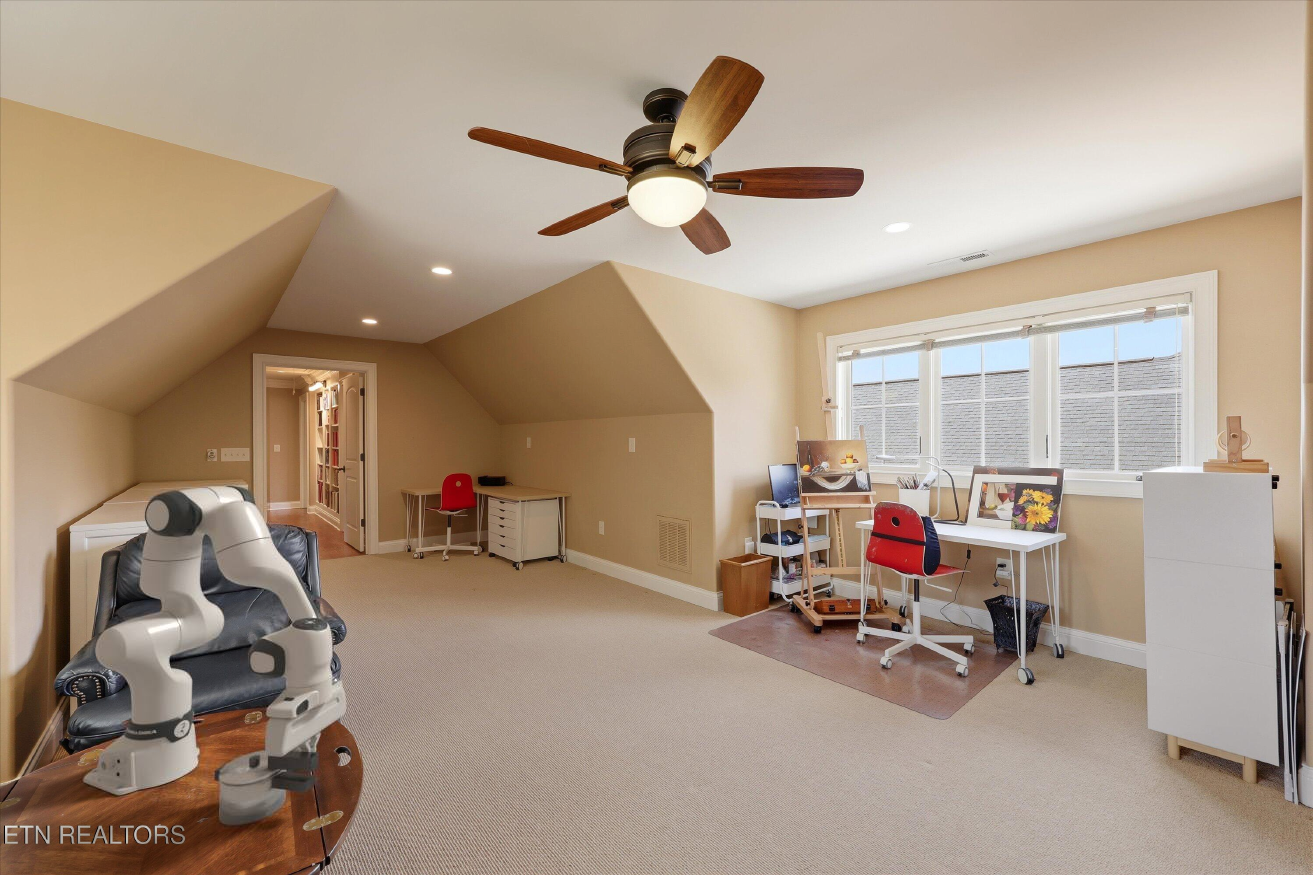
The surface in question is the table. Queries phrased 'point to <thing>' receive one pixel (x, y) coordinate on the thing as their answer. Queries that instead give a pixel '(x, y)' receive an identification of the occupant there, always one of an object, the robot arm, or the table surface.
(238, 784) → the lid
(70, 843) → the table surface
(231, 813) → the pot
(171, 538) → the robot arm
